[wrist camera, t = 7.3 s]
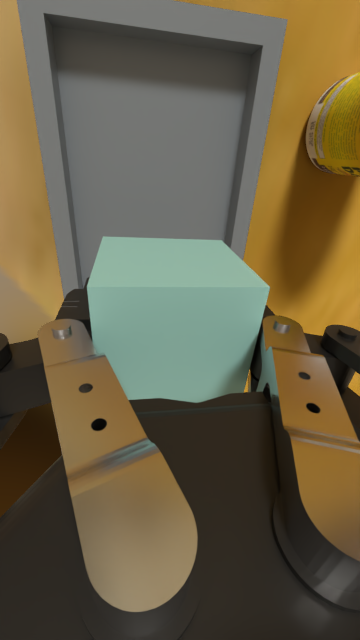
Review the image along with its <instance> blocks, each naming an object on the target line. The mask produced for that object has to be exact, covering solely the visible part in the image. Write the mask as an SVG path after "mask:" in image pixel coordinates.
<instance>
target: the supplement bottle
mask: <svg viewBox="0 0 360 640" xmlns="http://www.w3.org/2000/svg"><path fill="white" fill-rule="evenodd" d="M306 147H307V152H308V155H309V157H310V159H311V161H312V162H313V164H314V165H315V166H316V167H317V168H319V169H320V170H322V171H324V172H327V173H332V174H339V175H349V176H358V177H360V72H359V73H356V74H353V75H350V76H347V77H345V78H343V79H341V80H339V81H338V82H336V83H335V84H333V85H332V86H331V87H330V88H329V89H328V90H327V91H326V92H325V93H324V94H323V95H322V96H321V97H320V99H319V100H318V102H317V103H316V105H315V107H314V108H313V111H312V113H311V115H310V118H309V121H308V125H307V130H306Z"/></svg>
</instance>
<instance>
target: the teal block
mask: <svg viewBox="0 0 360 640" xmlns="http://www.w3.org/2000/svg"><path fill="white" fill-rule="evenodd" d="M269 290H270V287H269V286H268V285H267V284H266V283H265V282H264V281H263V280H262V279H261V278H260V277H259V276H258V275H257V274H256V273H255V272H254V271H253V270H252V269H251V268H250V267H249V266H248V265H247V264H246V263H244V262H243V261H242V260H241V259H240V258H239V257H238V256H237V255H236V254H235V253H234V252H233V251H232V250H231V249H230V248H229V247H228V246H227V245H226V244H225V243H224V242H223V241H222V240H199V239H167V238H135V237H104V236H103V238H102V241H101V244H100V247H99V250H98V254H97V257H96V260H95V263H94V266H93V269H92V272H91V275H90V279H89V282H88V285H87V293H88V302H89V312H90V321H91V330H92V340H93V345H94V347H95V349H96V351H97V353H102V352H103V353H104V354H105V355H106V357H107V359H108V361H109V363H110V365H111V367H112V369H113V371H114V373H115V375H116V377H117V379H118V381H119V383H120V385H121V387H122V388H123V390H124V392H125V394H126V396H127V398H128V400H136V399H152V398H164V399H171V400H179V401H186V402H194V403H198V402H203V401H206V400H210V399H213V398H216V397H220V396H223V395H227V394H230V393H243V392H244V389H245V385H246V381H247V377H248V373H249V369H250V365H251V361H252V357H253V353H254V349H255V345H256V341H257V337H258V333H259V329H260V325H261V321H262V317H263V313H264V309H265V305H266V301H267V298H268V294H269Z"/></svg>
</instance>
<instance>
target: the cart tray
mask: <svg viewBox="0 0 360 640" xmlns="http://www.w3.org/2000/svg"><path fill="white" fill-rule="evenodd" d="M17 4H18V11H19V17H20V23H21V30H22V36H23V42H24V49H25V55H26V61H27V68H28V74H29V80H30V86H31V93H32V99H33V105H34V112H35V118H36V124H37V131H38V137H39V143H40V150H41V156H42V162H43V168H44V175H45V181H46V187H47V194H48V200H49V206H50V213H51V219H52V225H53V231H54V238H55V244H56V250H57V257H58V263H59V269H60V276H61V282H62V288H63V295H64V299H65V297H66V294H68V293H69V292H70V291H72V290H73V289H83V288H84V285H85V282H86V280H87V277H90V275H91V272H92V269H93V266H94V263H95V260H96V257H97V254H98V250H99V247H100V244H101V241H102V238H103V236H104V237H135V238H167V239H199V240H222V241H223V242H224V243H225V244H226V245H227V246H228V247H229V248H230V249H231V250H232V251H233V252H234V253H235V254H236V255H237V256H238V257H239V258H240V259H241V260H242V261H243V257H244V252H245V246H246V241H247V235H248V230H249V225H250V219H251V214H252V209H253V203H254V198H255V192H256V187H257V182H258V176H259V171H260V165H261V160H262V155H263V149H264V144H265V138H266V133H267V128H268V122H269V117H270V112H271V106H272V101H273V95H274V90H275V85H276V79H277V74H278V68H279V63H280V58H281V52H282V47H283V42H284V36H285V31H286V25H287V19H281V18H275V17H269V16H263V15H257V14H251V13H245V12H239V11H233V10H227V9H221V8H215V7H209V6H203V5H197V4H191V3H185V2H179V1H173V0H17Z"/></svg>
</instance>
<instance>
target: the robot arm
mask: <svg viewBox="0 0 360 640" xmlns="http://www.w3.org/2000/svg"><path fill="white" fill-rule="evenodd" d="M89 279H90V277H87V280H86V282H85V285H84V288H83V289H73V290H72V291H70V292H69V293H68V294H66V297H65V299H64V302H63V303H62V307H61V308H60V310H59V312H58V315H57V317H56V319H55V320H54V321H51V322H49V323H46V324H45V325H43V326H42V327H41V328H40V329H39V330H38V338H36V339H32V340H28V341H24V342H19V343H14V344H9V342H8V339H7V337H6V336H5V335H4V334H2V333H0V449H1V448H2V447H3V445H4V444H5V442H6V441H7V440H8V438H9V437H10V435H11V434H12V433H13V431H14V430H15V428H16V427H17V425H18V424H19V423H20V421H21V420H22V418H23V417H24V415H25V414H26V411H27V409H30V408H34V407H37V406H40V405H44V404H47V403H50V402H52V407H53V411H54V417H55V421H56V426H57V431H58V435H59V441H60V445H61V450H62V456H61V457H60V458H59V459H58V460H57V461H56V462H55V463H54V464H53V465H52V466H51V467H50V468H49V469H48V470H47V471H46V472H45V473H44V474H43V475H42V476H41V477H40V478H39V479H38V480H37V481H36V482H35V483H34V484H33V485H32V486H31V487H30V488H29V489H28V490H27V491H26V492H25V493H24V494H23V495H22V496H21V497H20V498H19V499H18V500H17V501H16V502H15V503H14V504H13V505H12V506H11V508H9V510H7V511H6V513H5V514H4V515H3V516H2V517H1V518H0V640H360V396H358V395H357V394H356V393H355V392H353V391H352V390H351V389H350V388H348V385H349V383H350V381H351V379H352V377H353V375H354V373H355V371H356V372H357V373H359V374H360V331H358V330H356V329H353V328H351V327H347V326H343V325H330V326H327V327H326V329H325V332H324V334H323V336H319V335H313V334H306V333H304V332H303V329H302V327H301V325H300V324H299V323H297V322H296V321H294V320H292V319H290V318H287V317H283V316H276V315H275V314H274V313H273V312H272V311H271V310H270V309H269V308H268V306H267V305H265V309H264V313H263V317H262V321H261V325H260V329H259V333H258V337H257V341H256V345H255V349H254V353H253V357H252V361H251V365H250V372H249V376H248V392H245V393H230V394H227V395H223V396H220V397H216V398H213V399H210V400H206V401H203V402H198V403H194V402H186V401H179V400H171V399H164V398H152V399H136V400H128V398H127V396H126V394H125V392H124V390H123V388H122V387H121V385H120V383H119V381H118V379H117V377H116V375H115V373H114V371H113V369H112V367H111V365H110V363H109V361H108V359H107V357H106V355H105V354H104V353H103V352H102V353H97V351H96V349H95V347H94V345H93V340H92V330H91V321H90V312H89V302H88V293H87V285H88V282H89Z"/></svg>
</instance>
